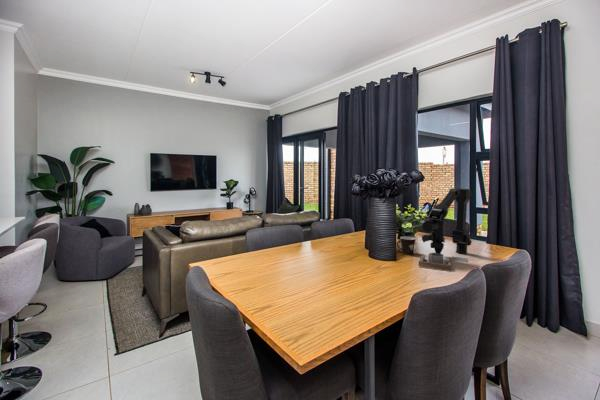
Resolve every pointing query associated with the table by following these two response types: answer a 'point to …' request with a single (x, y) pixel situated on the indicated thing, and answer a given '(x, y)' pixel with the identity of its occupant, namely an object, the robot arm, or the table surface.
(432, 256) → the tumbler
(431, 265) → the corral
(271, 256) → the table surface
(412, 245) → the coffee mug
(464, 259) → the felt coaster
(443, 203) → the robot arm
